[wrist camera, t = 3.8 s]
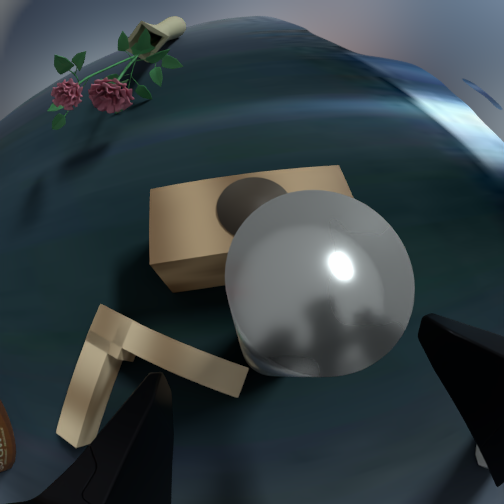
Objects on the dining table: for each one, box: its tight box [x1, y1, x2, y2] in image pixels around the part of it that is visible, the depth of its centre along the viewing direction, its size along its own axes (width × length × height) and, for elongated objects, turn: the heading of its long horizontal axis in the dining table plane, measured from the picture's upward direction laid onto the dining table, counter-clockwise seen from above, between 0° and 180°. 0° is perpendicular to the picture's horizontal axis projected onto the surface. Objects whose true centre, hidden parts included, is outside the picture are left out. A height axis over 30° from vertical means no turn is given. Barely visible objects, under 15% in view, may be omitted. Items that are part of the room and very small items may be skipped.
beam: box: [149, 165, 354, 293], centre depth 18 cm, size 12×5×5 cm, turn 100°
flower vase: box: [48, 16, 186, 130], centre depth 27 cm, size 12×12×35 cm
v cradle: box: [56, 304, 249, 448], centre depth 15 cm, size 8×14×2 cm, turn 116°
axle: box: [225, 190, 415, 377], centre depth 11 cm, size 4×4×13 cm
